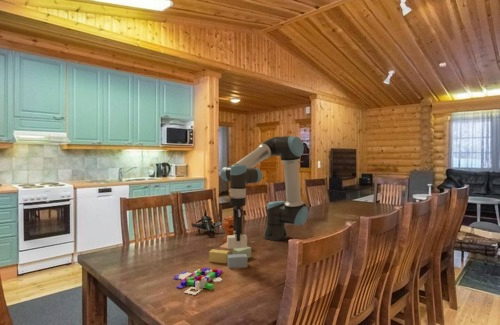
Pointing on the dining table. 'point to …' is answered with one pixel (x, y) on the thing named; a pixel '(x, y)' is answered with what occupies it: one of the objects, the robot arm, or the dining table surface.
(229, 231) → the orange lumpy upright piece
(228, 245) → the cream brick
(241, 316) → the dining table surface
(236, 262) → the slate brick
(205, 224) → the airplane toy
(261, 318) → the dining table surface
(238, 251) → the sage brick
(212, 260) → the ochre brick
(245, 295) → the dining table surface
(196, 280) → the building block set
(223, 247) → the terracotta brick
